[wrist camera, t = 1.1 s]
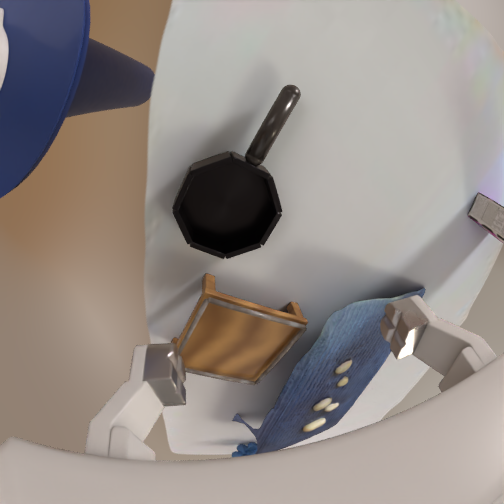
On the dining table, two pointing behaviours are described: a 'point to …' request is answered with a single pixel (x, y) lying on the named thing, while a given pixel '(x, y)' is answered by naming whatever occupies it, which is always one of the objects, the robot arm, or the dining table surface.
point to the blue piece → (328, 375)
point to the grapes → (245, 450)
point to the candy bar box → (488, 216)
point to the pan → (234, 192)
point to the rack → (236, 336)
